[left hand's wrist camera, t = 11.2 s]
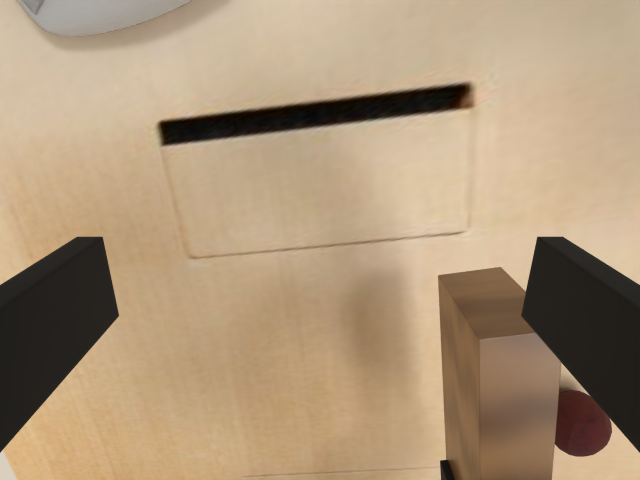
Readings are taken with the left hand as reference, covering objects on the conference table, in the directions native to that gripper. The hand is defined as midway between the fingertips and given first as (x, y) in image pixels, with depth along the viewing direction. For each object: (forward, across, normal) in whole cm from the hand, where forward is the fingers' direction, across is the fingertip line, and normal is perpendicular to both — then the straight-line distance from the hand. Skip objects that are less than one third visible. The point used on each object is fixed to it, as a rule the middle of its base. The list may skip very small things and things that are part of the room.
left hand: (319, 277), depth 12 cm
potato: (+31, +32, -34) cm, 57 cm away
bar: (+17, +13, -19) cm, 29 cm away
